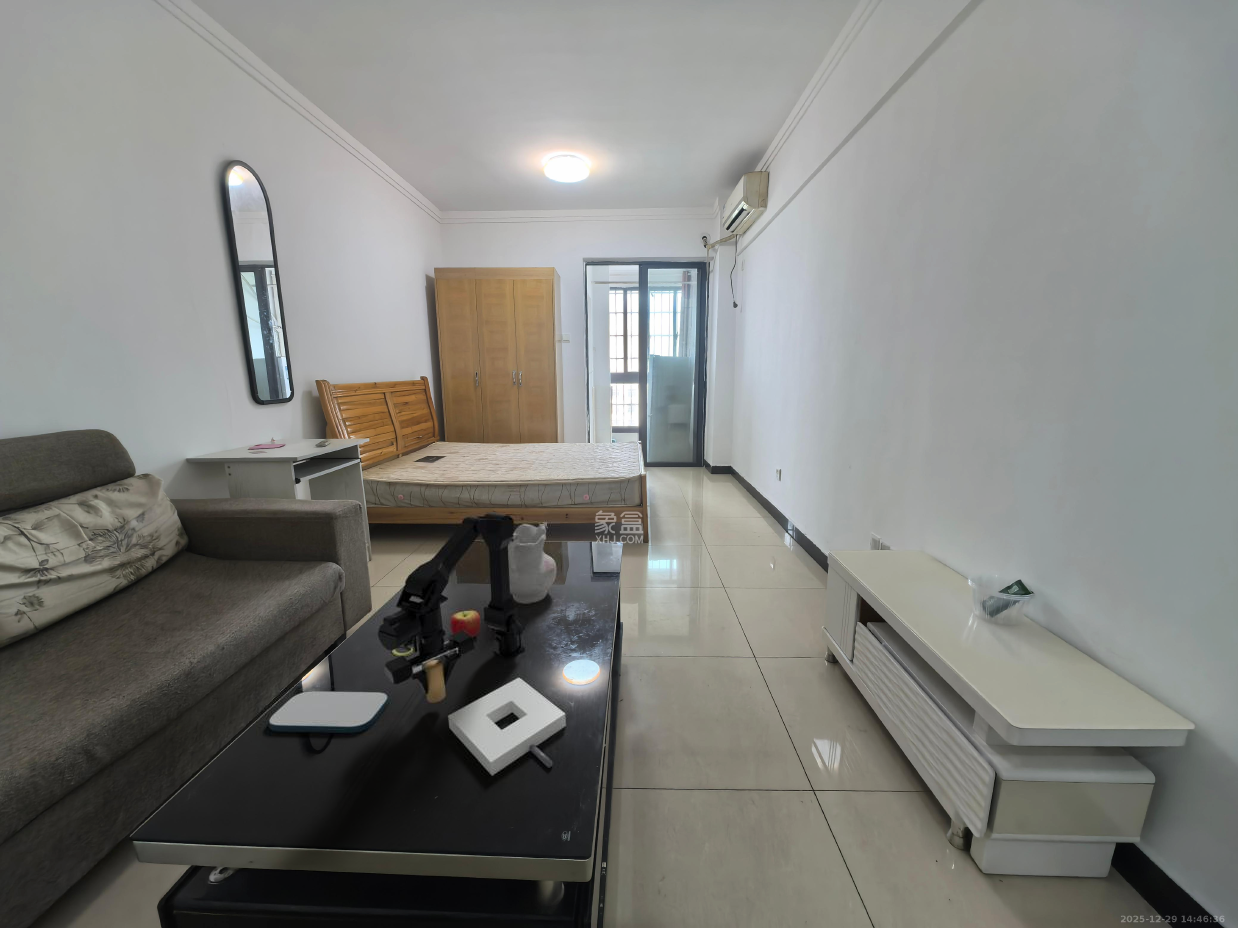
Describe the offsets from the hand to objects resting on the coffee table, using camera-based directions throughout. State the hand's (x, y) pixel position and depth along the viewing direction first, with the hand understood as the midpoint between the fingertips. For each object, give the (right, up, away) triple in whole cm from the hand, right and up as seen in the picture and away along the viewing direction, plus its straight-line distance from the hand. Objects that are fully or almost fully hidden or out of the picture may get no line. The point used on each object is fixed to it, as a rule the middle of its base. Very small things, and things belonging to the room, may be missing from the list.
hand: (435, 688), depth 108 cm
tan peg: (0, -2, 0) cm, 2 cm away
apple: (-3, 0, +30) cm, 30 cm away
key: (-17, -1, +27) cm, 32 cm away
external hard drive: (-24, -6, 0) cm, 25 cm away
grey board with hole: (+20, -6, -8) cm, 22 cm away
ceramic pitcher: (+11, +5, +54) cm, 56 cm away
